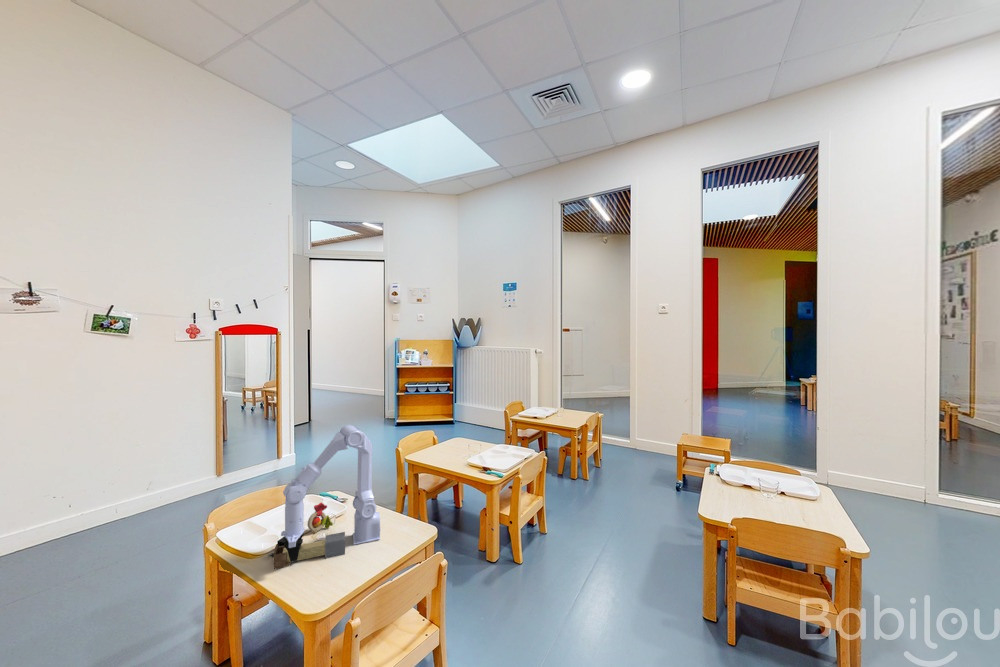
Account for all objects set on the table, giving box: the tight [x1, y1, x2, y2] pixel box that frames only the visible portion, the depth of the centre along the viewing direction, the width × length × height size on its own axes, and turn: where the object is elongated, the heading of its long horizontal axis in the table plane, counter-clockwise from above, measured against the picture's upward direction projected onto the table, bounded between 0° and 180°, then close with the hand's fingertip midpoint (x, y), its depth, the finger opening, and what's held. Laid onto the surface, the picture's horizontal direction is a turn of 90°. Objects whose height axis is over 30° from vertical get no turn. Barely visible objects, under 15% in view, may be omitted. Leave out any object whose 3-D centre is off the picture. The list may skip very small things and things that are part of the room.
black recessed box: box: [268, 536, 288, 558], centre depth 139 cm, size 12×7×5 cm, turn 167°
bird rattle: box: [307, 502, 334, 534], centre depth 152 cm, size 6×11×9 cm
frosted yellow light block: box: [283, 539, 325, 563], centre depth 134 cm, size 14×4×4 cm, turn 113°
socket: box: [273, 543, 291, 570], centre depth 131 cm, size 5×5×6 cm
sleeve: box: [324, 531, 346, 559], centre depth 138 cm, size 6×5×6 cm
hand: (294, 556), depth 133 cm, fingers closed on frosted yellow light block, 3 cm apart
